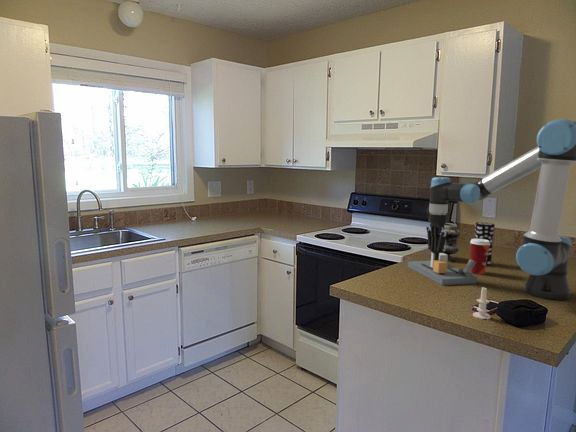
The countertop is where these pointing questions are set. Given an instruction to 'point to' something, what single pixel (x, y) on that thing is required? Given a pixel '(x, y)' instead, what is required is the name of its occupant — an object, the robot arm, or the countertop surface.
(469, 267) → the paddle lever
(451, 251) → the apothecary jar
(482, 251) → the coffee cup
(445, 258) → the block
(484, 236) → the white-spotted black cylinder
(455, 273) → the panel
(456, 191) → the robot arm
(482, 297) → the candle
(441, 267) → the orange fader
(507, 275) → the countertop surface
